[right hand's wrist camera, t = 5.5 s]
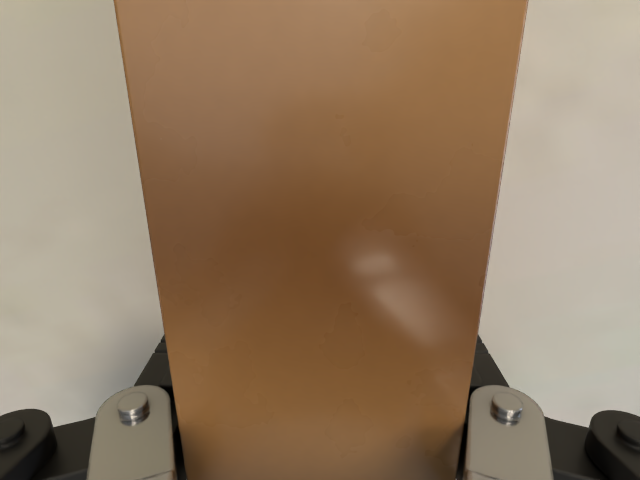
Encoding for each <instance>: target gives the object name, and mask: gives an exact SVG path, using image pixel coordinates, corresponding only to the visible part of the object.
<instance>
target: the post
mask: <svg viewBox="0 0 640 480" xmlns="http://www.w3.org/2000/svg"><path fill="white" fill-rule="evenodd" d="M114 6H115V12H116V19H117V25H118V32H119V38H120V45H121V52H122V58H123V65H124V71H125V78H126V84H127V91H128V97H129V104H130V110H131V117H132V124H133V130H134V137H135V143H136V150H137V156H138V163H139V169H140V176H141V183H142V189H143V196H144V202H145V209H146V215H147V222H148V228H149V235H150V242H151V248H152V255H153V261H154V268H155V274H156V281H157V287H158V294H159V300H160V307H161V314H162V320H163V327H164V333H165V340H166V346H167V353H168V359H169V366H170V373H171V379H172V386H173V392H174V399H175V405H176V412H177V418H178V425H179V432H180V438H181V445H182V451H183V458H184V464H185V471H186V477H187V480H456V474H457V467H458V461H459V454H460V448H461V441H462V435H463V428H464V421H465V415H466V408H467V402H468V395H469V388H470V382H471V375H472V369H473V362H474V355H475V349H476V342H477V336H478V329H479V323H480V316H481V309H482V303H483V296H484V290H485V283H486V276H487V270H488V263H489V257H490V250H491V243H492V237H493V230H494V224H495V217H496V210H497V204H498V197H499V191H500V184H501V178H502V171H503V164H504V158H505V151H506V145H507V138H508V131H509V125H510V118H511V112H512V105H513V98H514V92H515V85H516V79H517V72H518V66H519V59H520V52H521V46H522V39H523V33H524V26H525V19H526V13H527V6H528V0H114Z"/></svg>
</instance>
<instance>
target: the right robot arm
mask: <svg viewBox="0 0 640 480" xmlns="http://www.w3.org/2000/svg"><path fill="white" fill-rule="evenodd" d="M186 479H187V477H186V471H185V464H184V458H183V451H182V445H181V438H180V432H179V425H178V418H177V412H176V405H175V399H174V392H173V386H172V379H171V373H170V366H169V359H168V353H167V346H166V340H165V334H164V336H163V337H162V339H161V343H159V344H158V346H157V348H156V349H155V353H153V354H152V356H151V358H150V360H149V361H148V363H147V365H146V366H145V368H144V370H143V371H142V373H141V375H140V376H139V378H138V380H137V382H136V383H135V385H134V387H130V388H127V389H125V390H122V391H120V392H118V393H116V394H114V395H113V396H111V397H110V398H109V399H107V400H106V401H105V402H104V403H103V404H102V405H101V407H100V408H99V410H98V412H97V414H96V417H94V418H91V419H87V420H83V421H79V422H74V423H70V424H66V425H61V426H57V427H53V425H52V422H51V419H50V416H49V415H48V414H47V413H46V412H44V411H42V410H38V409H24V410H18V411H13V412H10V413H7V414H4V415H2V416H0V480H186ZM456 480H640V417H639V416H636V415H633V414H630V413H627V412H622V411H615V410H607V411H601V412H598V413H596V414H595V415H594V416H593V417H592V419H591V422H590V425H589V428H587V427H583V426H579V425H574V424H570V423H566V422H561V421H557V420H554V419H550V418H548V417H545V416H544V414H543V412H542V410H541V408H540V407H539V405H538V404H537V403H536V402H535V401H534V400H533V399H531V398H530V397H529V396H527V395H526V394H524V393H522V392H520V391H518V390H515V389H513V388H510V387H509V385H508V384H507V382H506V380H505V379H504V377H503V375H502V374H501V372H500V370H499V369H498V367H497V365H496V364H495V362H494V360H493V359H492V357H491V355H490V354H488V350H487V349H486V347H485V345H484V343H482V340H481V338H480V337H479V335H478V336H477V342H476V349H475V355H474V362H473V369H472V375H471V382H470V388H469V395H468V402H467V408H466V415H465V421H464V428H463V435H462V441H461V448H460V454H459V461H458V467H457V474H456Z"/></svg>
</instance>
